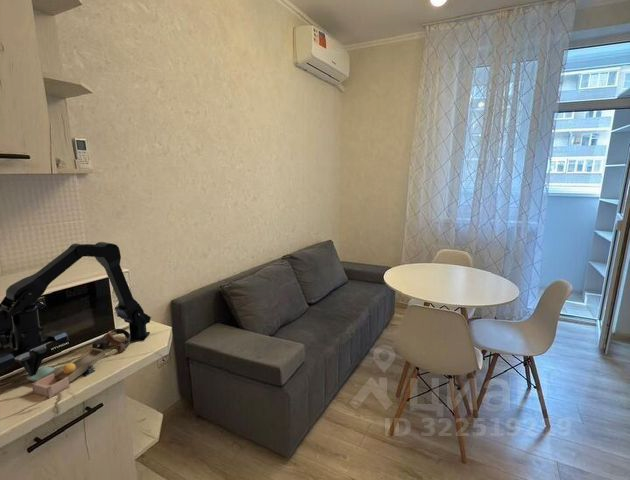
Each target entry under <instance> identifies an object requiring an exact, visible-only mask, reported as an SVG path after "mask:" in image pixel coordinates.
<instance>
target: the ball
mask: <svg viewBox="0 0 630 480" xmlns="http://www.w3.org/2000/svg"><path fill="white" fill-rule="evenodd" d="M75 368H76V366H75V364H73V362H69V363H67V364H65V365H64V366H63V369H62V370H63V371H64V373H66V374H70V373H72V372H73V371H74V370H75Z"/></svg>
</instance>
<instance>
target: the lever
mask: <svg viewBox="0 0 630 480" xmlns="http://www.w3.org/2000/svg"><path fill="white" fill-rule="evenodd" d="M104 357H106V353H105V350H104V351H103V350H101V349H96V348H91V349H90V350H89V351H87V352H86V353H84V354H83V355H82V356H80V357H78V358H77V359H76V360H74V361H73V362H72V363H73V364H75V366H76V368H75V370H74V371H73V372H72V373H70V374H66V373H64V371H63V369H61V370H58V369H55V368H54V367H50V366H46V365H43V366H42V367H39V369H38V371H37V373H36V375H33V376H30V375H29V374H28V376H26V379H27V380H29V381H31V382H34V383H35V382H37V381H39V380H41V379H43V378H45V377H47V376H49V375H51V374H54V376H55V380H59V381H61V380H63V379H64V378H66V377H68V378H69V383H71V382H72V381H74V380H76V379H77V378H79V376H81V375H80V374H82V373H83V372H84V371H86V370H87V369H88V368H92V369H93V367H94V365H95V364H97V363H98V362H99V361H101V360H102V359H103V358H104Z"/></svg>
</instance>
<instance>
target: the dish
mask: <svg viewBox="0 0 630 480" xmlns="http://www.w3.org/2000/svg"><path fill="white" fill-rule="evenodd" d="M31 386H32V394H34V395H37V396H40V397H44V398H47V399H50V398H51V399H52V398H53V397H54V396H56V395H58V394H60V393H62V392H64V391H65V390H67V389H69V388H70V387H71V386H70V382H69V378H68V377H66V378H64V379H63V380H59V381H56V379H55V376H54V374H51V375H48V376H47V377H45V378H43V379H41V380H39V381H37V382H35V381H34V382H33V383H31Z"/></svg>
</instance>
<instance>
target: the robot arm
mask: <svg viewBox="0 0 630 480" xmlns="http://www.w3.org/2000/svg"><path fill="white" fill-rule="evenodd" d="M83 257H88V258H89V257H92V258H95V260H96V261H97V262H98V263H99V264H100V265H101V266H102V267H103V268H104V270H105V272H106V274H107V277H108V279H109V282H110V285H111V287H112V288H113V290H114V291H113V292H114V293H115V296H116V298H117V301H118V305H117V306H115V307H114V310H115V312H116V315H117V316H116V317H119V318H120V319H122V320H123V321H124V322H125V323H127V324H128V328H129V329H128V331H129V334H130V335H131V338H130V342H136V341H138V342H139V341H141V342H142V341H145V340H146V339H147V338H148V337H149V335H150V334H151V331H147V325H148V324H150V323H151V318H152V316H150V315H148V314H146V313H145V312H144V309H143V308H142V306H141V305H140V303H139V302H138V301H137V300H136V299H135V298H134V296H133V295H132V291H131V290H130V286H129V284H128V282H127V280H126V276H125V274H124V271H123V269H122V266H121V259H122V257H121V250H120V247H119V245H117V244H114V243H110V242H106V241H98V242H96V243H95V244H92V243H91V244H89V243H83V244H81V243H73V244H71V245H70V246H69V247H68V248H67V249H65V250H64V251H63V252H61V253H60V254H58V255H57V257H55V258H54V259H52V260H51V261H50V262H48V263H47V264H46V265H45V266H43V267H42V268H41V269H39V270H38V271H36V272H35V273H33V274H31V275H28V276H26V277H24V278H21V279H20V280H17V281H16V282H14V283H13V284H11V285H9V286H8V287H7V288H6V289H5V296H4V298H2V300H1V301H0V348H2V347H3V348H4V349H7V348H8V347H9V349H13V350H12V351H10V352H6V351H3V350H1V351H0V371H1V370H3V369H6V368H7V367H10V366H13V364H14V363H15V362H17V363H19V364H20V365H21V366H22V367H23V369H24V370H25V371H26V373H27V374H28V376H29V375H30V376H33V375H36V373H37V371H38V369H40V366H41V364H42V362H43V360H44V359H45V357H46V356H47V354H48V353H49V352H50V351H51V350H50V348H47V345H49V344H51V343H53V342H54V343H55V344H57V345H61V344H65V343H66V342H68V341H69V335H68V333H66V332H64V331H59V330H53V331H50V332H48V333H47V332H46V333H45V334H43V335H41V334H42V333H41V332H43V331H44V327H43V326H40V318H39V310H40V309H43V308H46V307H47V304H44V303H43V302H41V301H40V300H39V299H40V298H41V297H42V296H43V294H44V293H45V292H46V290H47V288H48V286H49V285H50V284H51V283H52V282H53V281H55V280H56V279H57V278H59V276H61V275H62V274H63V273H64V272H66V271H67V270H68V269H69V268H71V267H72V266H73V265H75V264H76V263H77V262H78V261H79V260H80V259H82V258H83ZM9 331H10V336H9V335H5V334H4V333H7V332H9ZM6 336H7V337H6ZM126 339H128V338H127V337H126ZM14 349H15V350H14Z"/></svg>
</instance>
